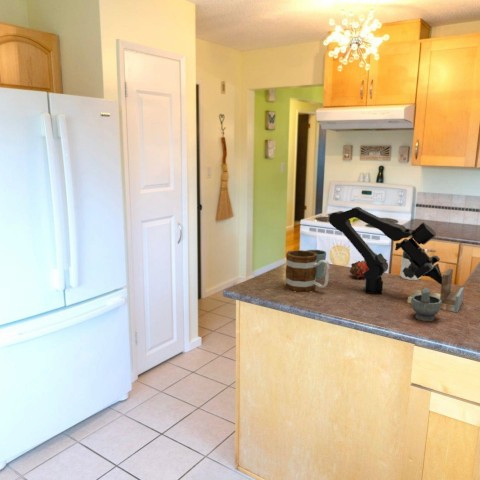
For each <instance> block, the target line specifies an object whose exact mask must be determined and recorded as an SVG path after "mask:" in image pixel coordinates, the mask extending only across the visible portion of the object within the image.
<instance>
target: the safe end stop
mask: <svg viewBox="0 0 480 480" xmlns="http://www.w3.org/2000/svg"><path fill="white" fill-rule="evenodd" d="M464 291H465V287H464V286H463V287H460V289H459V290H458V292H456V293H457V295H456V299H455V308H454V311H453V312H454V313H458V311H459V310H460V308H461V306H462V304H463V299H464Z"/></svg>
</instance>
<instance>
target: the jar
mask: <svg viewBox="0 0 480 480" xmlns="http://www.w3.org/2000/svg"><path fill="white" fill-rule="evenodd" d="M402 251H403V250H402ZM409 259H410V258H409V256H408V255H407V254H406V253H405V252H404V251H403V252H402V256H401V260H400V261H401V263H400V271H399V272H400V274H399V277H401V278H403V280H409V281H418V280H420V279H421V278H422V276H421V277H419V278H417V277H416V276H415V275H414V277H412V279H411V278H409V277H405V275H404V273H403V269H404V268H405V267H407V268H408V267H409V266H410V264H411V262H410V261H409Z"/></svg>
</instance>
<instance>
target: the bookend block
mask: <svg viewBox="0 0 480 480" xmlns="http://www.w3.org/2000/svg"><path fill="white" fill-rule="evenodd" d="M453 272H454V269H453V268H446V269H445V271H444V272H443V273H442V285H441V284H440V286H441V287H440V294H441V295H440V299H441V300H442V303H444V304H449V305H455V299H456V295H457V293H458V292H454V291H452V284H453V275H454V273H453Z"/></svg>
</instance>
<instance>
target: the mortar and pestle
mask: <svg viewBox="0 0 480 480" xmlns="http://www.w3.org/2000/svg"><path fill="white" fill-rule="evenodd" d="M420 291H421V293H422V295H414V296H413V297H412V299H411V303H410V304H411V308H412V310H413V311H414V312H415V318H416V319H417V320H419V321H422V322H424V321H425V322H431V321H434V320H435V316H436V315H438V313H439V312H440V311H441V309H440V307H441V303H442V300H441V299H439V298H437V297H434V296H430V295H429V294H430V292H431V290H430V289H429V288H428V287H425V288H422V289H421V290H420Z"/></svg>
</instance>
